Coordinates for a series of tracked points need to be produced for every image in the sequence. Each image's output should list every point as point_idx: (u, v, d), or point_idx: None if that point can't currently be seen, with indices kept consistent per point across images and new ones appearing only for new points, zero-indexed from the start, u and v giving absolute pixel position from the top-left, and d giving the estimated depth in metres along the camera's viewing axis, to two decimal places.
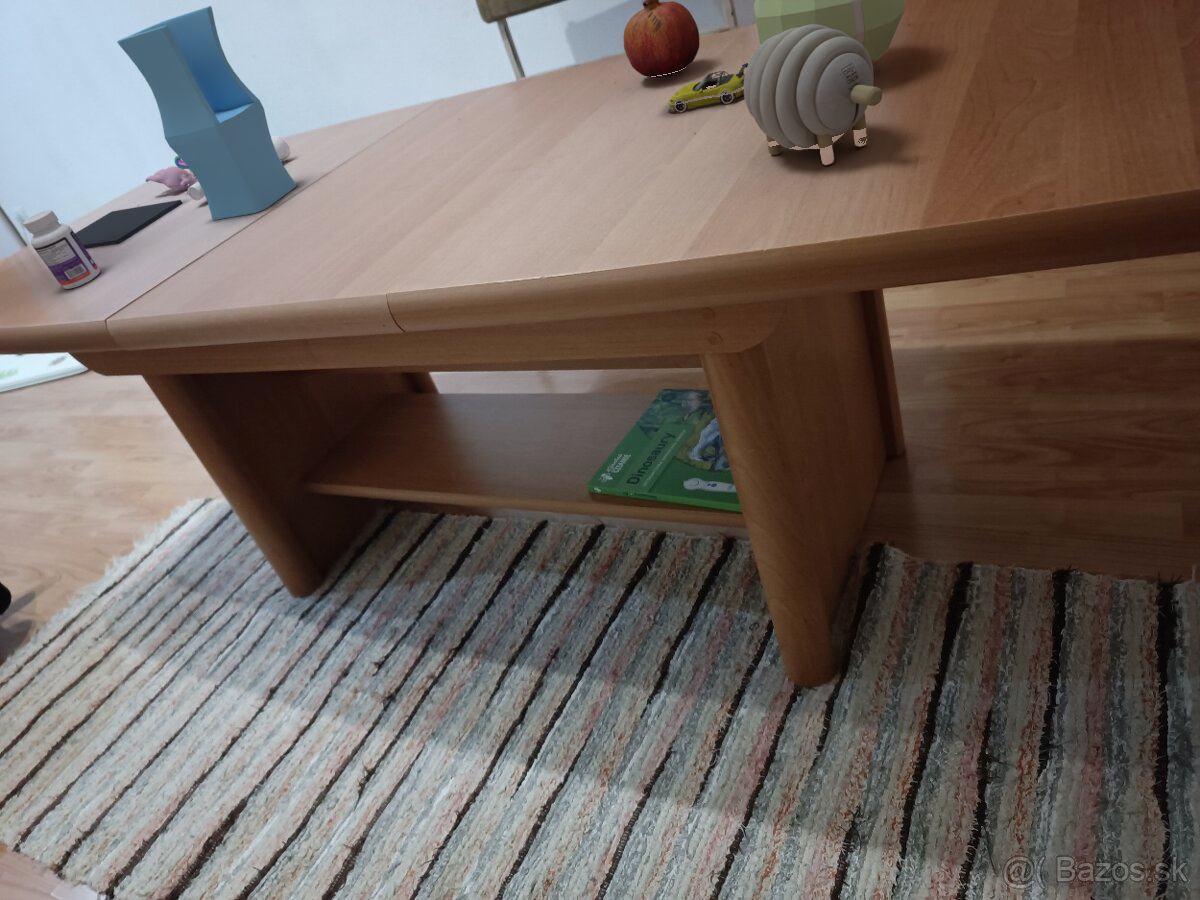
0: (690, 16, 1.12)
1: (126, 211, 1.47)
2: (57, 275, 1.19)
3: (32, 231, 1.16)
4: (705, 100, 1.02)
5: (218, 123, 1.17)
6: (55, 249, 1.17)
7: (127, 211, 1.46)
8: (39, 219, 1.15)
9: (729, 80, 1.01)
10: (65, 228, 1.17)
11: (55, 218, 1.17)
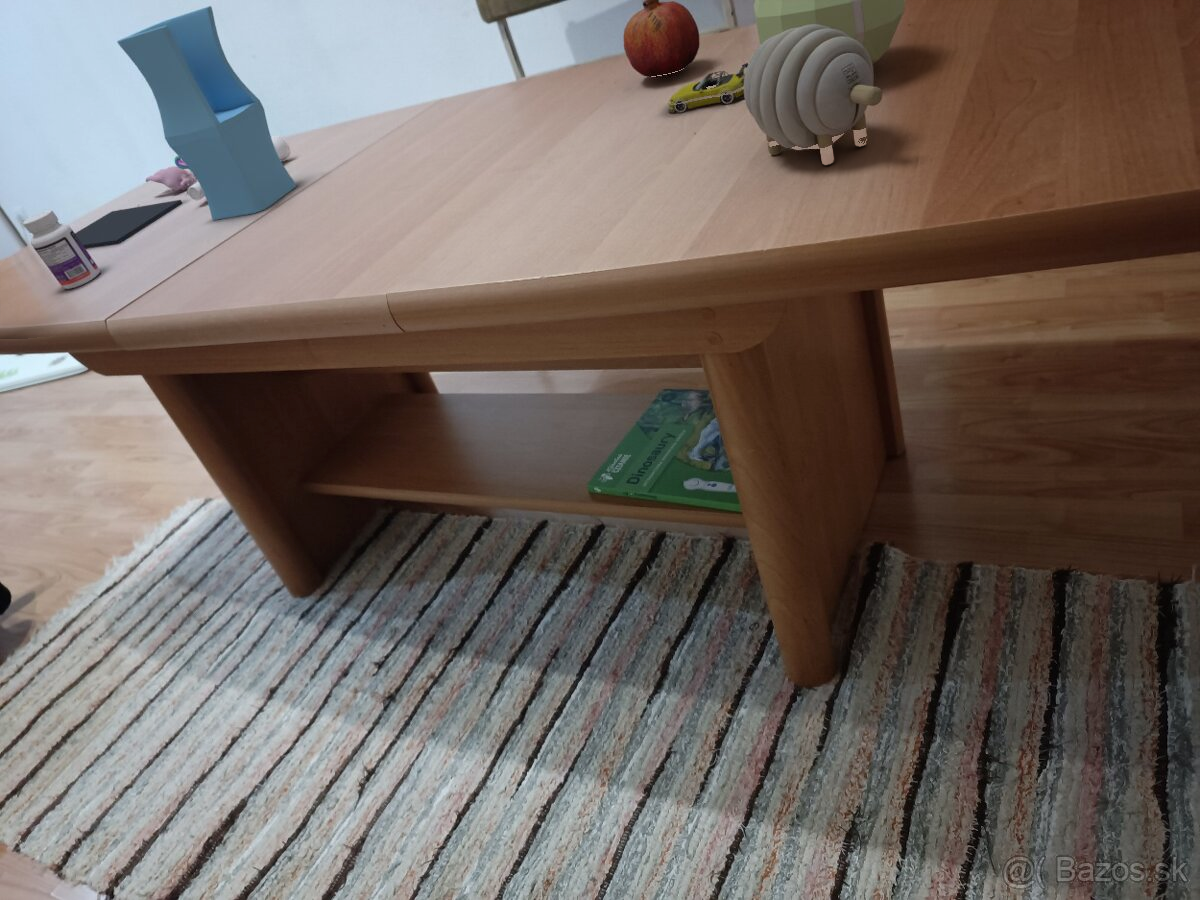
0: (690, 16, 1.12)
1: (126, 211, 1.47)
2: (57, 275, 1.19)
3: (32, 231, 1.16)
4: (705, 100, 1.02)
5: (218, 123, 1.17)
6: (55, 249, 1.17)
7: (127, 211, 1.46)
8: (39, 219, 1.15)
9: (729, 80, 1.01)
10: (65, 228, 1.17)
11: (55, 218, 1.17)
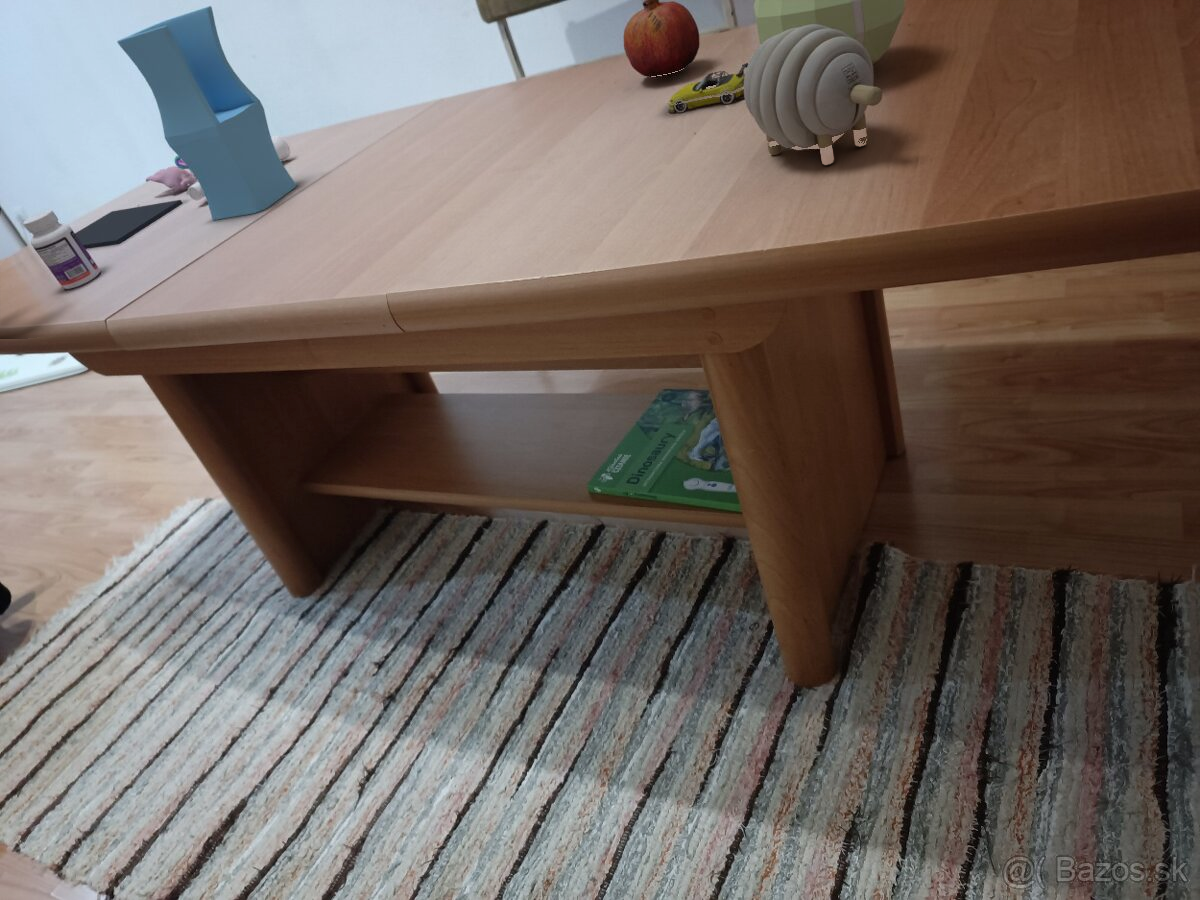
0: (690, 16, 1.12)
1: (126, 211, 1.47)
2: (57, 275, 1.19)
3: (32, 231, 1.16)
4: (705, 100, 1.02)
5: (218, 123, 1.17)
6: (55, 249, 1.17)
7: (127, 211, 1.46)
8: (39, 219, 1.15)
9: (729, 80, 1.01)
10: (65, 228, 1.17)
11: (55, 218, 1.17)
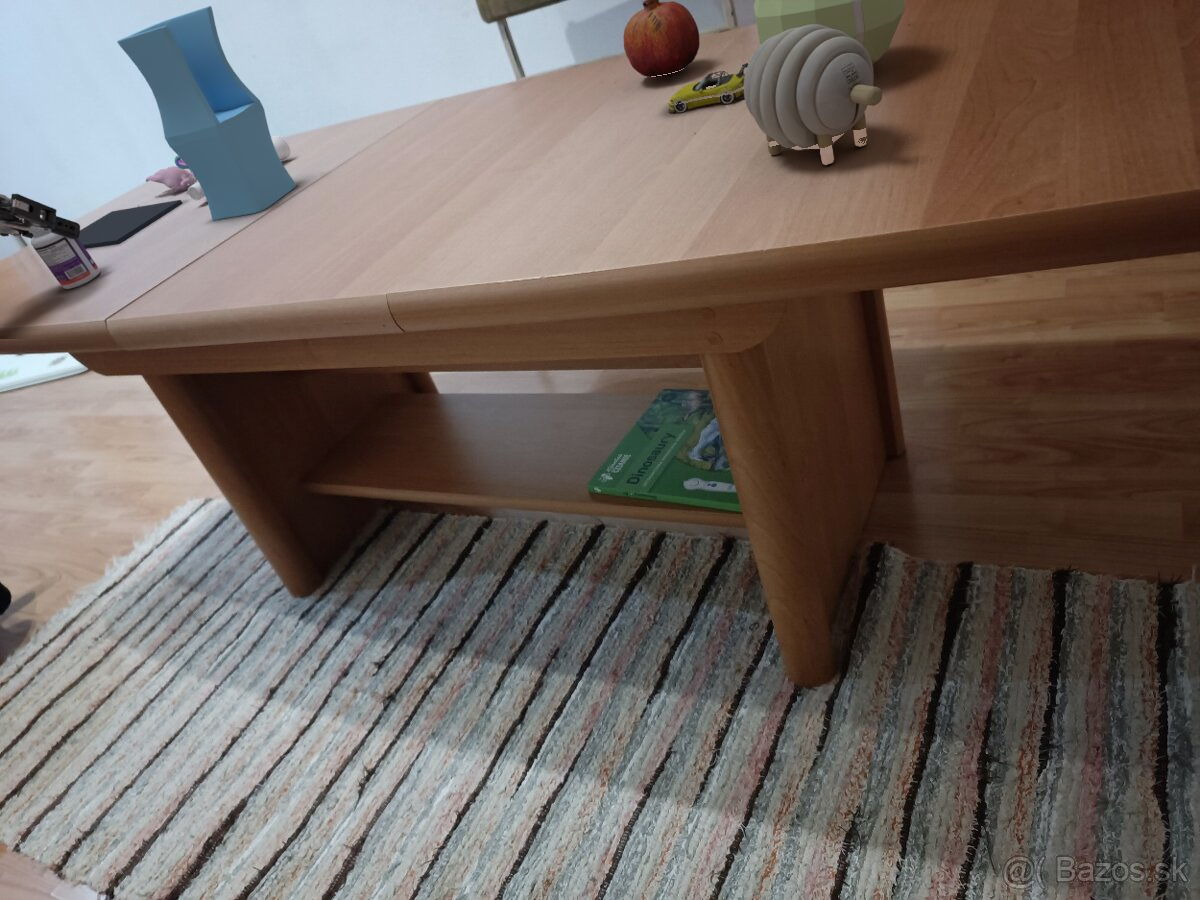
0: (690, 16, 1.12)
1: (126, 211, 1.47)
2: (57, 275, 1.19)
3: (32, 231, 1.16)
4: (705, 100, 1.02)
5: (218, 123, 1.17)
6: (55, 249, 1.17)
7: (127, 211, 1.46)
8: None
9: (729, 80, 1.01)
10: None
11: None
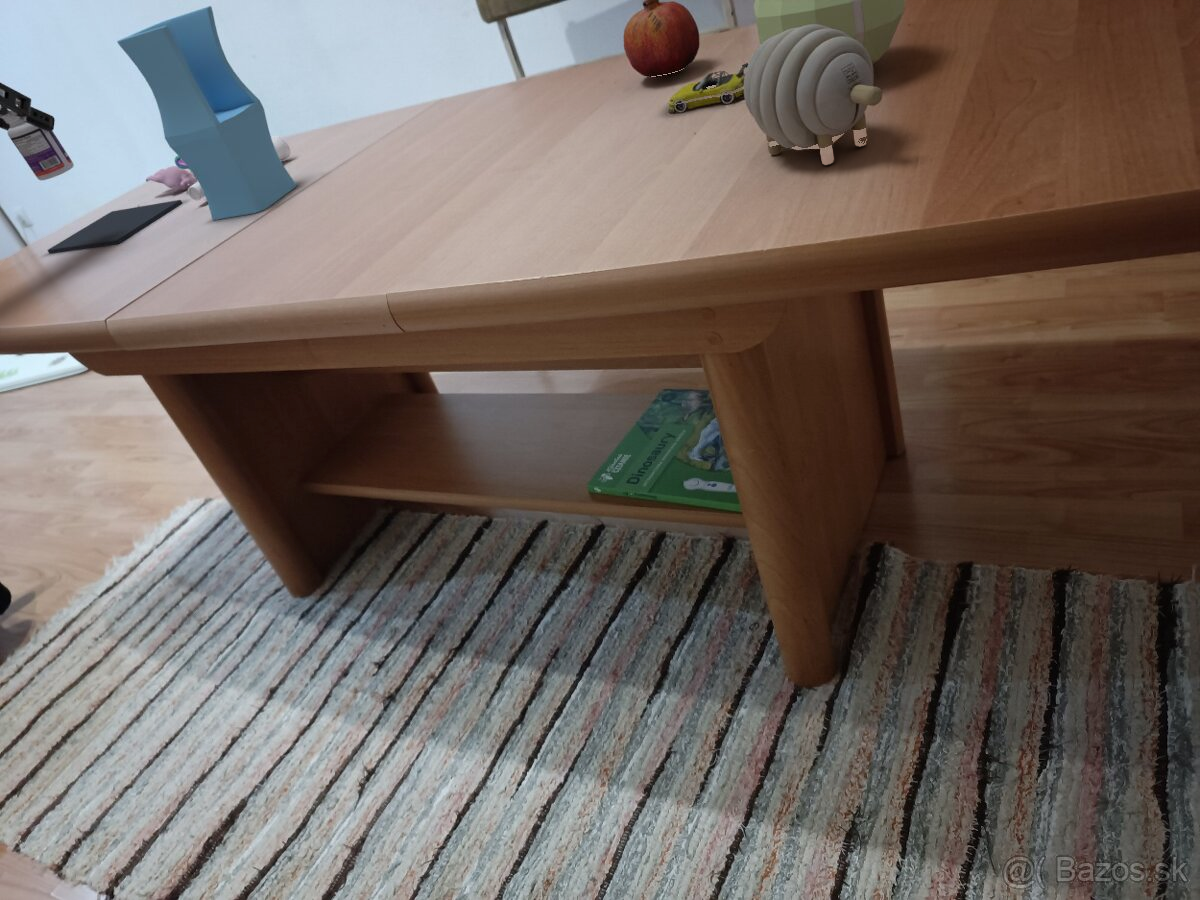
0: (690, 16, 1.12)
1: (126, 211, 1.47)
2: (32, 166, 1.25)
3: (9, 121, 1.22)
4: (705, 100, 1.02)
5: (218, 123, 1.17)
6: (30, 139, 1.23)
7: (127, 211, 1.46)
8: None
9: (729, 80, 1.01)
10: None
11: None
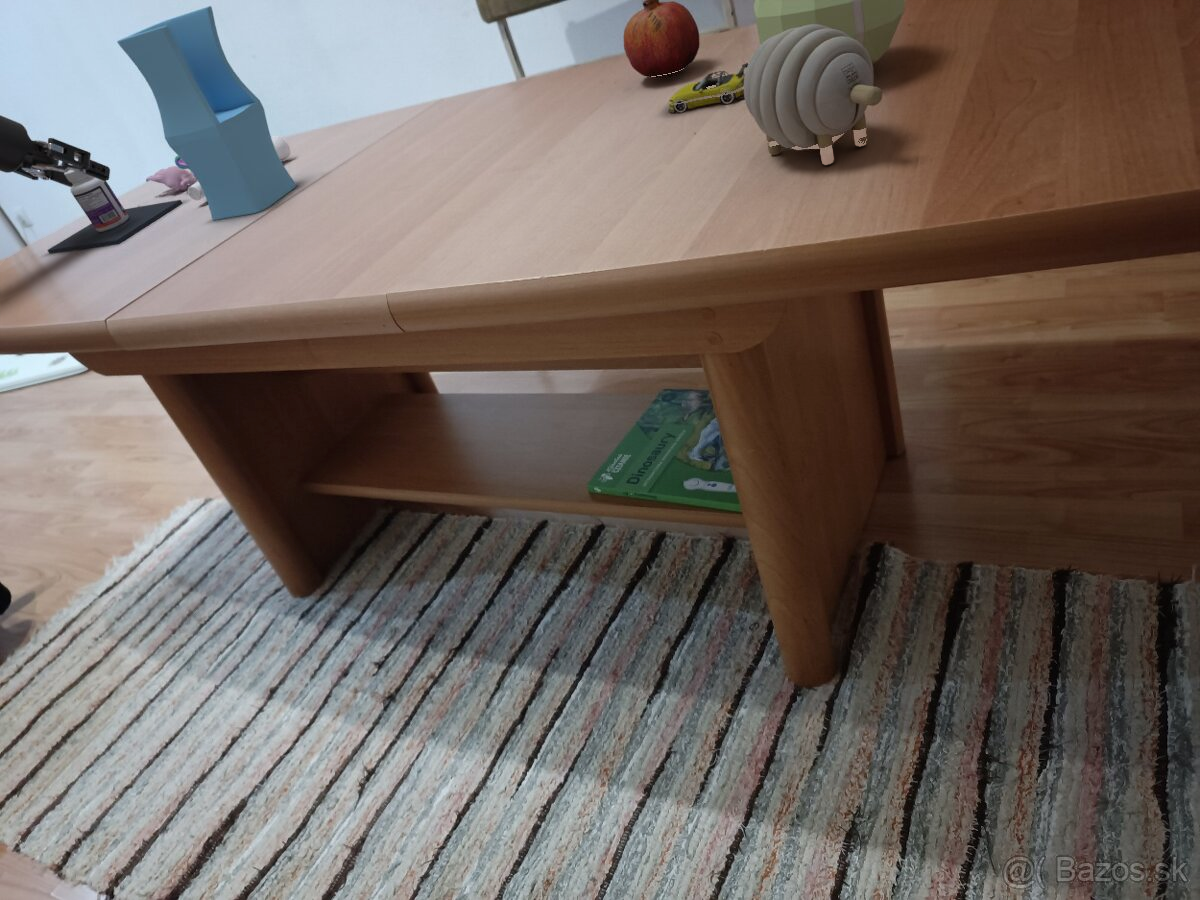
0: (690, 16, 1.12)
1: (126, 211, 1.47)
2: (93, 220, 1.38)
3: (72, 180, 1.35)
4: (705, 100, 1.02)
5: (218, 123, 1.17)
6: (91, 196, 1.36)
7: (127, 211, 1.46)
8: None
9: (729, 80, 1.01)
10: None
11: None
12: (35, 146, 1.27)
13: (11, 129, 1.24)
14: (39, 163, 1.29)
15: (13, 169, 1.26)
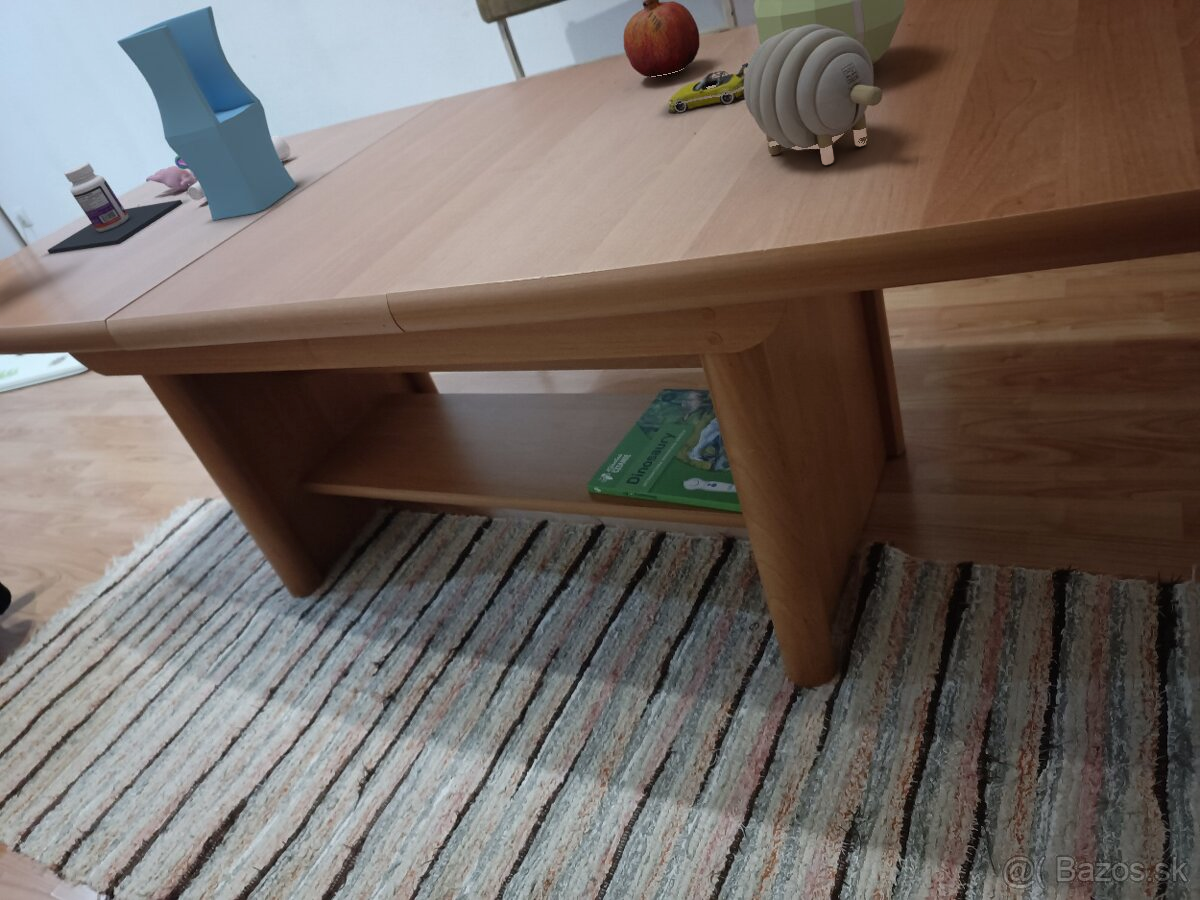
0: (690, 16, 1.12)
1: (126, 211, 1.47)
2: (93, 220, 1.38)
3: (72, 180, 1.35)
4: (705, 100, 1.02)
5: (218, 123, 1.17)
6: (91, 196, 1.36)
7: (127, 211, 1.46)
8: (78, 170, 1.34)
9: (729, 80, 1.01)
10: (100, 178, 1.37)
11: (91, 169, 1.36)
12: None
13: None
14: None
15: None
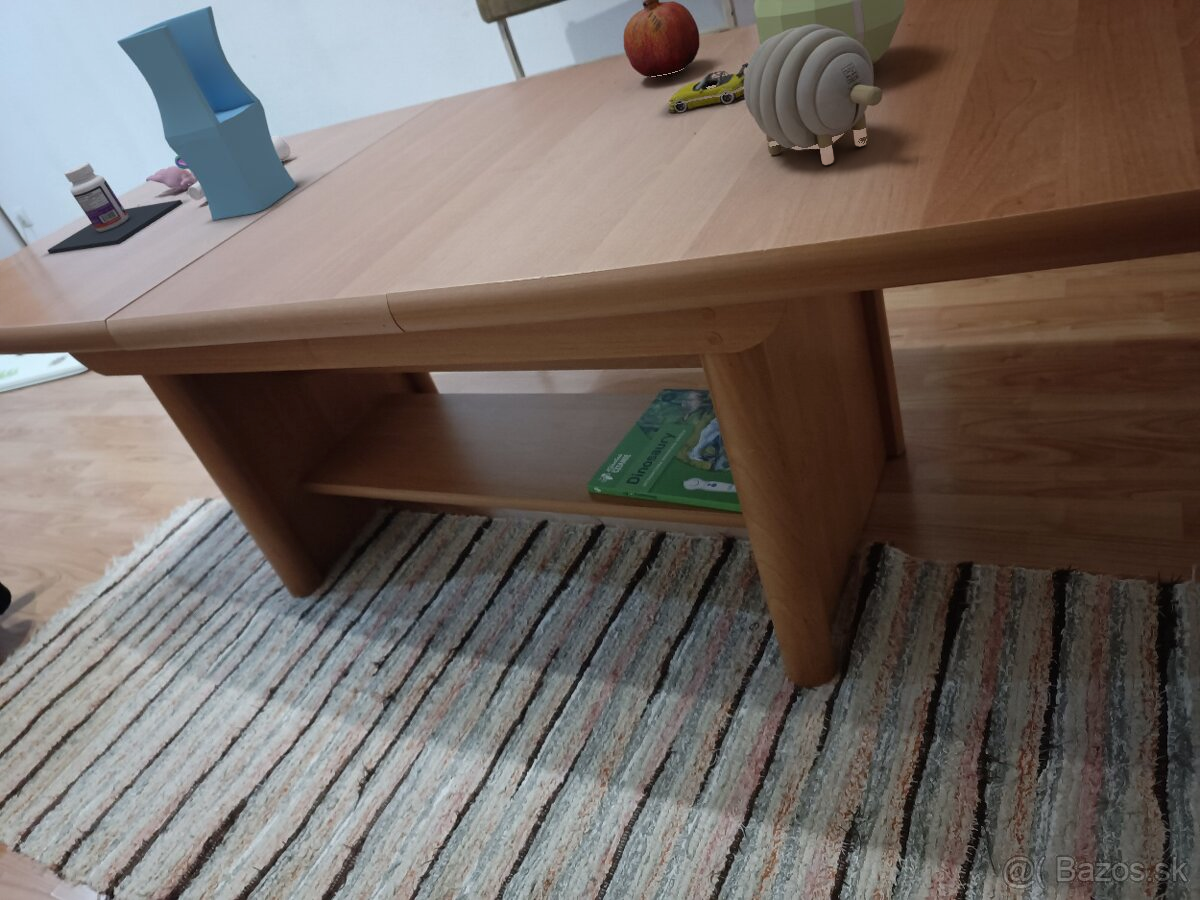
0: (690, 16, 1.12)
1: (126, 211, 1.47)
2: (93, 220, 1.38)
3: (72, 180, 1.35)
4: (705, 100, 1.02)
5: (218, 123, 1.17)
6: (91, 196, 1.36)
7: (127, 211, 1.46)
8: (78, 170, 1.34)
9: (729, 80, 1.01)
10: (100, 178, 1.37)
11: (91, 169, 1.36)
12: None
13: None
14: None
15: None
